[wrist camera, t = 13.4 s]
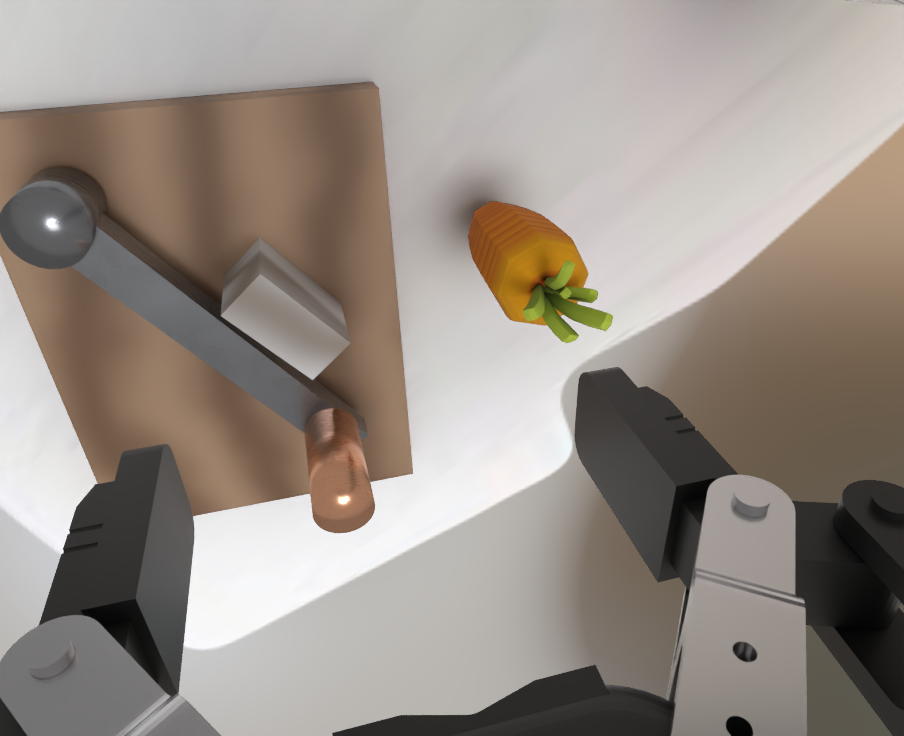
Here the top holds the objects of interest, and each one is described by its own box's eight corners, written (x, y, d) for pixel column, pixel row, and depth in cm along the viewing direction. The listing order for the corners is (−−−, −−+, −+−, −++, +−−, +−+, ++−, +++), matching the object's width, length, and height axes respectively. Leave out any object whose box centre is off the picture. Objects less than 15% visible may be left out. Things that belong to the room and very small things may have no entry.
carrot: (427, 224, 41) (501, 344, 29) (476, 155, 39) (577, 250, 27) (487, 264, 43) (580, 390, 31) (536, 201, 42) (653, 307, 30)
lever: (56, 150, 32) (-12, 220, 24) (368, 402, 44) (395, 507, 35) (8, 202, 32) (-75, 287, 24) (329, 437, 44) (345, 547, 36)
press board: (372, 81, 36) (395, 107, 30) (407, 456, 50) (427, 522, 44) (-40, 115, 32) (-104, 152, 27) (122, 509, 46) (104, 589, 41)
